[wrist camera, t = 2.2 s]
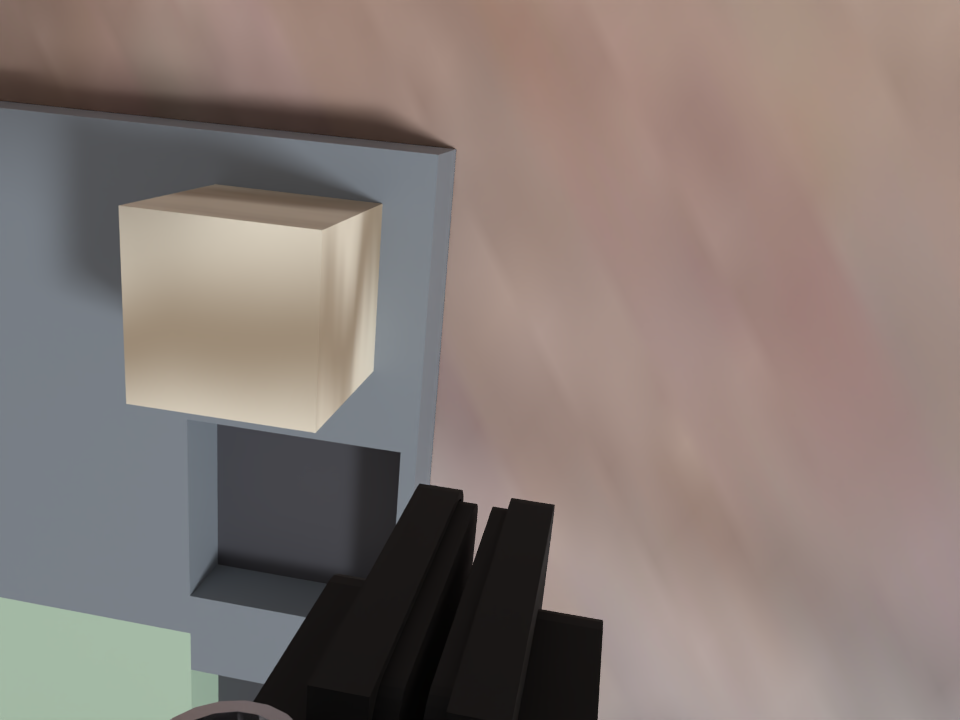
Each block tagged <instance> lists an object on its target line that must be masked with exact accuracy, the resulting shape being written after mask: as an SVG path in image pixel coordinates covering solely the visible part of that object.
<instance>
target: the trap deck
mask: <svg viewBox="0 0 960 720" xmlns="http://www.w3.org/2000/svg"><path fill="white" fill-rule="evenodd" d="M455 159H456V149H450V148H441V147H431V146H422V145H412V144H403V143H393V142H384V141H374V140H365V139H356V138H346V137H337V136H327V135H318V134H308V133H299V132H290V131H280V130H271V129H261V128H252V127H242V126H233V125H224V124H214V123H205V122H195V121H186V120H176V119H167V118H158V117H148V116H139V115H129V114H120V113H110V112H101V111H91V110H82V109H73V108H63V107H54V106H44V105H35V104H25V103H16V102H7V101H0V720H170V719H172V718H173V717H175V716H178V715H180V714H182V713H184V712H186V711H188V710H191V709H193V708H195V707H198V706H202V705H207V704H211V703H215V702H219V701H243V700H246V701H251V702H253V701H254V699H255V698H256V696H257V695H258V693H259V691H260V690H261V688H262V687H263V685H264V683H265V682H266V680H267V679H268V677H269V675H270V674H271V672H272V671H273V669H274V668H275V666H276V664H277V663H278V661H279V660H280V658H281V656H282V655H283V653H284V652H285V650H286V648H287V647H288V645H289V644H290V642H291V640H292V639H293V637H294V636H295V634H296V632H297V631H298V629H299V628H300V626H301V624H302V623H303V621H304V620H305V618H306V617H307V615H308V613H309V612H310V610H311V609H312V607H313V605H314V604H315V602H316V601H317V599H318V597H319V596H320V594H321V593H322V591H323V589H324V588H325V586H326V585H327V583H328V581H329V580H330V579H331V578H332V577H333V575H336V574H343V575H348V576H354V577H360V578H365V579H366V578H367V576H368V574H369V573H370V571H371V569H372V567H373V565H374V564H375V562H376V560H377V558H378V556H379V555H380V553H381V551H382V549H383V547H384V546H385V544H386V542H387V540H388V538H389V536H390V535H391V533H392V531H393V529H394V527H395V526H396V524H397V522H398V520H399V518H400V517H401V515H402V513H403V511H404V509H405V508H406V506H407V504H408V502H409V500H410V499H411V497H412V495H413V493H414V491H415V490H416V488H417V486H418V485H419V484H426V485H430V475H431V462H432V450H433V437H434V424H435V412H436V399H437V387H438V374H439V361H440V349H441V336H442V323H443V311H444V298H445V285H446V273H447V260H448V248H449V235H450V222H451V210H452V197H453V184H454V172H455ZM214 184H218V185H226V186H235V187H244V188H252V189H261V190H270V191H278V192H287V193H295V194H304V195H313V196H321V197H330V198H339V199H347V200H356V201H364V202H373V203H382V204H383V206H382V224H381V242H380V261H379V279H378V297H377V316H376V334H375V352H374V371H373V372H372V373H371V374H370V375H369V376H368V377H367V379H366V380H365V381H364V382H363V383H362V384H361V385H360V386H359V387H358V388H357V389H356V390H355V391H354V392H353V393H352V395H351V396H350V397H349V398H348V399H347V400H346V401H345V402H344V403H343V404H342V405H341V406H340V407H339V408H338V409H337V411H336V412H335V413H334V414H333V415H332V416H331V417H330V418H329V419H328V420H327V421H326V422H325V423H324V424H323V425H322V427H321V428H320V429H319V430H318V431H317V432H316V433H313V432H306V431H300V430H293V429H287V428H280V427H274V426H267V425H261V424H254V423H248V422H241V421H235V420H228V419H222V418H215V417H209V416H202V415H196V414H189V413H183V412H176V411H170V410H163V409H157V408H150V407H144V406H137V405H131V404H126V384H125V359H124V333H123V308H122V282H121V257H120V231H119V205H123V204H128V203H132V202H137V201H141V200H146V199H151V198H155V197H160V196H164V195H169V194H173V193H178V192H182V191H187V190H192V189H196V188H201V187H205V186H210V185H214Z"/></svg>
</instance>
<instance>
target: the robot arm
mask: <svg viewBox="0 0 960 720" xmlns="http://www.w3.org/2000/svg"><path fill="white" fill-rule="evenodd" d="M554 506H555V505H552V504H546V503H539V502H533V501H527V500H521V499H514V498H511V501H510V504H509V507H508V509H504V508H498V507H493V508H492V510H491V513H490V516H489V519H488V522H487V525H486V528H485V530H484V533H483V536H482V539H481V542H480V545H479V548H478V551H477V554H476V557H475V560H474V562H473V554H474V544H475V534H476V523H477V512H478V506H477V504H473V503H467V502H463V490H458V489H452V488H445V487H439V486H433V485H426V484H419V485H418V486H417V488H416V490H415V491H414V493H413V495H412V497H411V499H410V500H409V502H408V504H407V506H406V508H405V509H404V511H403V513H402V515H401V517H400V518H399V520H398V522H397V524H396V526H395V527H394V529H393V531H392V533H391V535H390V536H389V538H388V540H387V542H386V544H385V546H384V547H383V549H382V551H381V553H380V555H379V556H378V558H377V560H376V562H375V564H374V565H373V567H372V569H371V571H370V573H369V574H368V576H367V578H366V579H365V578H360V577H354V576H348V575H343V574H336V575H333V577H332V578H331V579H330V580H329V581H328V583H327V585H326V586H325V588H324V589H323V591H322V593H321V594H320V596H319V597H318V599H317V601H316V602H315V604H314V605H313V607H312V609H311V610H310V612H309V613H308V615H307V617H306V618H305V620H304V621H303V623H302V624H301V626H300V628H299V629H298V631H297V632H296V634H295V636H294V637H293V639H292V640H291V642H290V644H289V645H288V647H287V648H286V650H285V652H284V653H283V655H282V656H281V658H280V660H279V661H278V663H277V664H276V666H275V668H274V669H273V671H272V672H271V674H270V675H269V677H268V679H267V680H266V682H265V683H264V685H263V687H262V688H261V690H260V691H259V693H258V695H257V696H256V698H255V699H254V701H253V702H251V701H246V700H243V701H219V702H215V703H211V704H207V705H202V706H198V707H195V708H193V709H191V710H188V711H186V712H184V713H182V714H180V715H178V716H175V717H173V718H172V719H170V720H597V719H598V702H599V685H600V668H601V651H602V634H603V620H599V619H593V618H587V617H581V616H576V615H570V614H564V613H559V612H553V611H547V610H542V601H543V594H544V586H545V578H546V571H547V563H548V555H549V547H550V540H551V532H552V524H553V516H554ZM472 564H473V565H472Z"/></svg>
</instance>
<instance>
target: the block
mask: <svg viewBox="0 0 960 720" xmlns="http://www.w3.org/2000/svg"><path fill="white" fill-rule="evenodd" d="M382 206H383V204H382V203H373V202H364V201H356V200H347V199H339V198H330V197H321V196H313V195H304V194H295V193H287V192H278V191H270V190H261V189H252V188H244V187H235V186H226V185H218V184H214V185H210V186H205V187H201V188H196V189H192V190H187V191H182V192H178V193H173V194H169V195H164V196H160V197H155V198H151V199H146V200H141V201H137V202H132V203H128V204H123V205H119V231H120V257H121V282H122V308H123V333H124V359H125V384H126V404H131V405H137V406H144V407H150V408H157V409H163V410H170V411H176V412H183V413H189V414H196V415H202V416H209V417H215V418H222V419H228V420H235V421H241V422H248V423H254V424H261V425H267V426H274V427H280V428H287V429H293V430H300V431H306V432H313V433H316V432H317V431H318V430H319V429H320V428H321V427H322V425H323V424H324V423H325V422H326V421H327V420H328V419H329V418H330V417H331V416H332V415H333V414H334V413H335V412H336V411H337V409H338V408H339V407H340V406H341V405H342V404H343V403H344V402H345V401H346V400H347V399H348V398H349V397H350V396H351V395H352V393H353V392H354V391H355V390H356V389H357V388H358V387H359V386H360V385H361V384H362V383H363V382H364V381H365V380H366V379H367V377H368V376H369V375H370V374H371V373H372V372H373V371H374V352H375V334H376V316H377V297H378V279H379V261H380V242H381V224H382Z"/></svg>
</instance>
